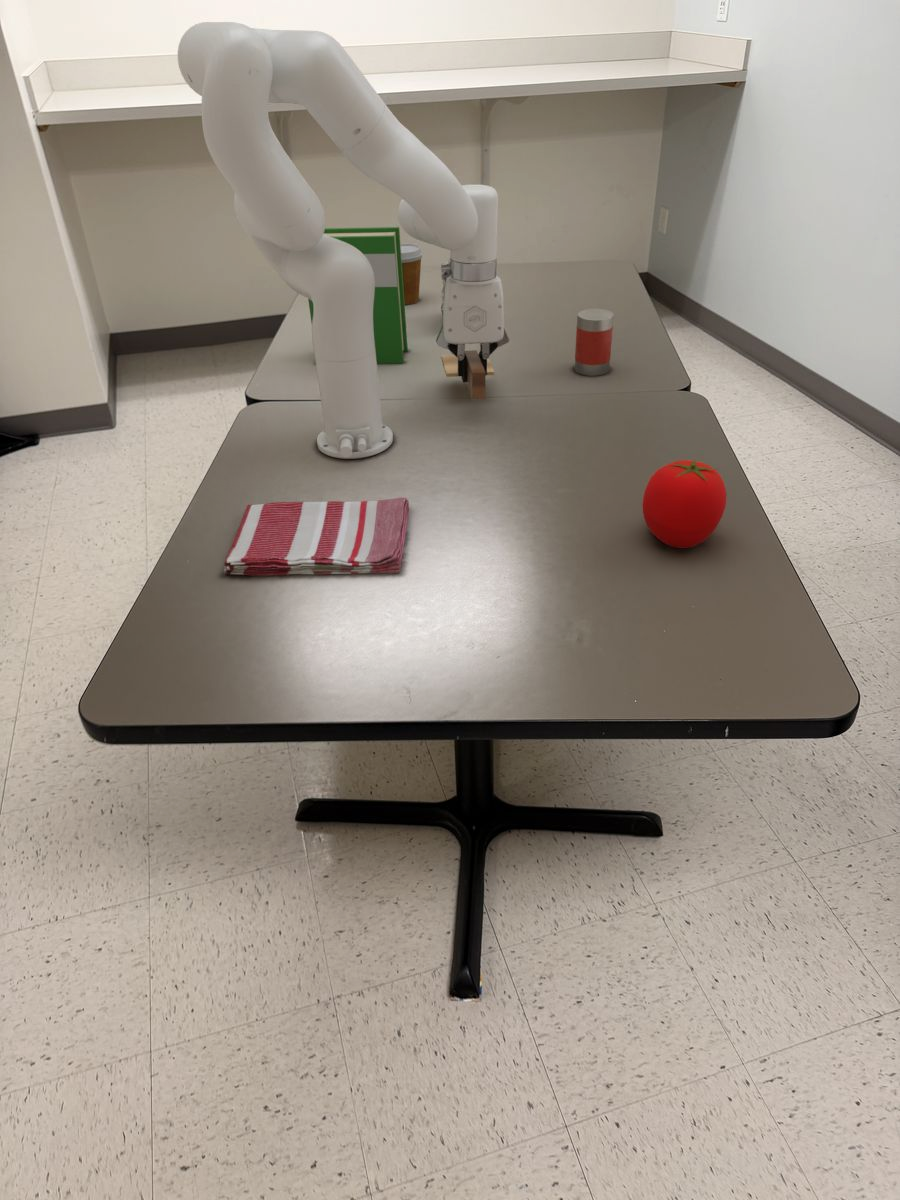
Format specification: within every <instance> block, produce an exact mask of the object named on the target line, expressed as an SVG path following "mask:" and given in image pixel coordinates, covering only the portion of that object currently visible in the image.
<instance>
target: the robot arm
mask: <svg viewBox="0 0 900 1200" xmlns="http://www.w3.org/2000/svg"><path fill="white" fill-rule="evenodd" d="M177 63H178V69H179V72H180V74H181V77H183V80H184V81H185V83H186V84H187V85H188V87H189V88H190V89H191V90H192V91H194V93H196V94H197V95H199V96H200V97H201V125H202V133H203V138H204V141H205V145H206V147H207V150H208V152H209V155H210V157H211V159H212V160H213V163H214V164H215V166H216V167H217V169H218V170H219V172H220V173H221V175H222V176H223V177H224V179H225V180H226V182H227V183H228V185H229V186H230V187H231V189H232V190H233V192H234V195H233V208H234V213H235V216H236V218H237V220H238V223H239V225H240V227H241V229H242V230H243V232H244V233H245V234H246V236H247V237H248V238H249V240H250V241H251V242H252V243H253V245H254V246H255V247H256V248H257V250H258V251H259V253H260V254H262V256H263V257H264V258H265V260H266V261H267V262H268V263H269V265H270V266H271V267H272V268H273V270H274V271H275V273H277V275H278V276H279V277H280V278H281V280H283V282H285V284H286V285H287V286H288V287H289V288H291V289H292V290H293V291H295V292H296V293H298V294H299V295H301V296H303V297H305V298H307V299H310V300H311V301H312V302H313V309H314V310H313V321H312V323H311V342H312V349H313V355H314V360H315V361H314V362H315V368H316V375H317V383H318V390H319V398H320V404H321V412H322V419H323V426H324V429H323V430H322V431H321V432H320V433H319V434H318V435H317V437H316V443H317V449H318V450H319V451H320V452H321V453H322V454H324V455H327V456H329V457H332V458H336V459H343V460H344V459H345V460H346V459H347V460H350V459H351V460H352V459H353V460H355V459H362V458H368V457H371V456H375V455H378V454H380V453H382V452H384V451H386V450H387V449H388V448H389V447H390V446H391V445H392V444H393V441H394V434H393V431H392V429H391V428H390V427H389V426H387V425H386V424H384V423H383V415H382V406H381V394H380V384H379V383H380V382H379V373H378V363H377V361H376V350H375V341H374V329H373V305H374V293H375V279H374V273H373V270H372V267H371V265H370V263H369V261H368V260H367V258H366V257H365V256H364V255H363V253H362V252H361V251H359V250H358V249H357V248H355V247H354V246H352V245H350V244H348V243H346V242H343V241H341V240H338V239H335V238H332V237H330V236H327V235H325V234H324V231H325V228H326V215H325V210H324V207H323V205H322V202H321V200H320V198H319V197H318V195H317V194H316V192H315V191H314V190H313V187H311V185H309V183H308V182H307V181H306V179H305V177H303V175H302V173H301V172H300V170H299V169H298V168H297V166H296V164H295V163H294V162H293V160H292V159H291V158H290V156H289V155H288V153H287V152H286V151H285V149H284V147H283V146H282V144H281V142H280V141H279V140H278V137H277V136H276V134H275V132H274V130H273V128H272V125H271V122H270V118H269V104H270V103H272V104H294V105H299V106H302V107H303V108H304V109H305V110H306V111H307V112H308V113H309V114H310V115H311V117H312V118H313V119H314V121H315V122H316V123H317V124H318V125H319V126H320V127H321V129H322V130H323V131H324V132H325V134H327V136H328V137H329V138H330V139H331V140H332V142H333V144H335V145H336V146H337V148H338V149H339V151H341V153H342V154H343V155H344V156H345V158H346V159H347V160H348V161H349V162H350V164H351V165H352V166H353V167H354V168H356V169H357V170H358V171H360V172H361V173H362V174H363V175H365V176H366V177H368V178H369V179H371V180H373V181H374V182H376V183H378V184H379V185H382V186H384V188H387V189H388V190H390V191H391V192H393V193H394V194H395V195H397V196H398V197H399V198H401V200H400V203H399V205H398V208H397V218H398V222H399V224H400V227H401V228H402V230H403V231H404V232H405V233H406V234H407V235H408V236H410V237H411V238H413V239H415V240H418V241H420V242H423V243H427V244H429V245H433V246H435V247H438V248H440V249H444V250H447V251H449V260H450V261H449V260H447V261H448V263H445V262H443V263H441V264H440V265H441V266H440V267H441V268H440V269H441V270H440V271H441V273H442V272H446V273H449V275H450V277H448V278H447V280H446V285H445V292H444V301H442V303H443V321H442V320H441V327H440V330H439V332H438V334H437V337H436V339H435V342H436V345H437V346H438V347H441V348H443V349H446V350H449V351H450V353H452V354H454V355H455V356H456V357H457V358H458V376H457V377H460V378H461V381H462V384H465V383H466V382H467V359H466V355H465V351H466V345H471V344H473V345H474V344H479V345H480V348H479V349H480V350H479V352H478V353H479V354H478V355H479V357H480V360H481V362H482V365H483V367H484V370H485V372H486V374H485V376H488V375H487V359H488V358H490V356H491V355H492V354H493V353H494V352H495V351H496V350H497V349H498V348H499V347H502V346H504V345H506V344H508V343H509V341H510V338H509V336H508V333H507V332H506V329H505V303H504V301H505V300H504V291H503V283H502V279H501V278H500V277H499V275H497V264H498V263H497V262H498V258H497V257H498V256H497V255H498V227H499V226H498V222H499V221H498V220H499V194H498V192H497V190H496V188H494V187H493V186H490V185H486V184H461V182H459V179H458V178H457V177H456V176H455V174H453V172H452V171H451V170H450V169H449V168H448V166H446V164H445V163H444V162H443V161H442V160H441V159H440V158H439V157H438V156H437V155H436V154H435V153H434V152H433V151H431V150H430V149H429V148H428V147H427V145H425V144H424V143H422V141H421V140H420V139H419V138H418V137H417V136H416V135H415V134H414V133H412V132H411V131H410V130H409V129H408V128H407V127H406V126H404V125H403V124H402V123H401V122H400V121H399V120H398V119H397V117H396V116H395V115H394V114H393V112H392V111H391V110H390V108H389V107H388V106H387V104H386V103H385V102H384V100H383V99H382V98H381V96H380V95H379V93H378V92H377V91H376V89H375V88H374V87H373V86H372V84H371V83H370V81H368V79H367V78H366V76H365V75H364V74H363V72H362V71H361V69H360V68H359V67H358V65H357V64H356V62H355V61H354V60H353V58H352V57H351V56H350V55H349V53H348V52H347V51H346V49H345V48H344V47H343V46H342V45H341V43H340V42H339V41H337V40H336V39H335V38H334V37H333V36H332V35H330V34H328V33H326V32H324V31H320V30H319V31H318V30H300V29H297V30H296V29H295V30H293V29H289V30H288V29H266V28H256V27H255V28H254V27H250V26H248V25H246V24H243V23H240V22H234V21H203V22H198V23H195V24H194V25H192V26H190V27H189V28H188V29H187V30H186V31H185V32H184V33H183V35H182V36H181V38H180V41H179V43H178V46H177ZM466 384H467V383H466Z"/></svg>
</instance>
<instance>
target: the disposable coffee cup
mask: <svg viewBox="0 0 900 1200" xmlns="http://www.w3.org/2000/svg"><path fill="white" fill-rule="evenodd" d="M400 245H401V260H402V274H403V289H404V303H405V305H413V304H416V303H418V302H419V300H420V285H421V284H420V283H421V268H422V267H421V266H422V258H423V255H424V252H423V251H422V248H421V246H420V245H418V244H415V243H400Z"/></svg>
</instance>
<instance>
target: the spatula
mask: <svg viewBox="0 0 900 1200" xmlns="http://www.w3.org/2000/svg"><path fill="white" fill-rule="evenodd" d="M478 354H479V352H478V350H475V349H473V350H465V355H466V359H467V382H466V386H467V388H468V389H467V390H468V391H469V395H470V398H471V400H485V399H486V376H494V375H495V370H494V368H493V365H492V362H491V361H490V359H489V358H490V357H489V358H488V359H487V375H485V374H486V372H485V370H484V367H483V365H482V362H481V360H480V357H479V355H478ZM440 359H441V362H442V366H443V369H444V373H445V376H446V378H450V377H451V378H452V377H453V378H454V377H459V376H458V358H457V357H456V356H455V355H454V354H453V353H452V354H441V355H440Z"/></svg>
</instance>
